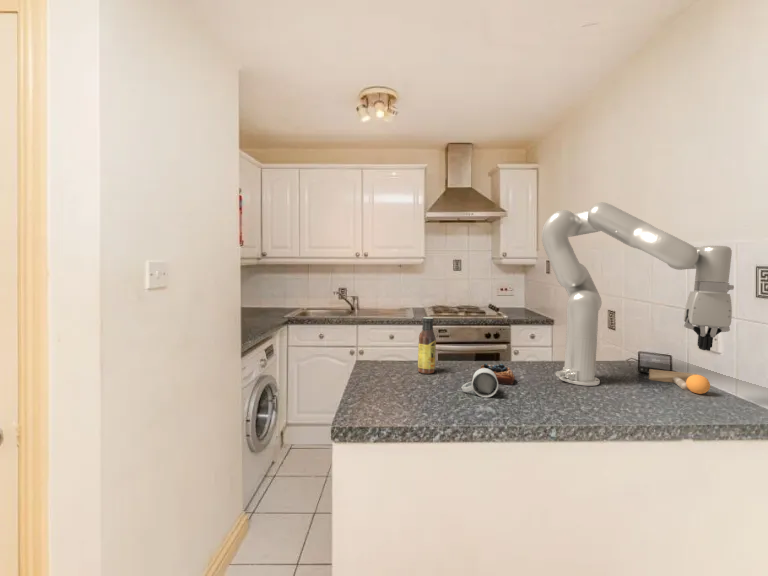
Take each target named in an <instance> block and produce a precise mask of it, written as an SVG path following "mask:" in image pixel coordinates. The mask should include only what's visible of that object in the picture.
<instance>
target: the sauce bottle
mask: <svg viewBox="0 0 768 576" xmlns="http://www.w3.org/2000/svg"><path fill="white" fill-rule="evenodd" d="M434 318H435V317H431V316H424V317H422V319H421V321H422V328H421V332H420V333H419V336H418V346H417V347H418V349H417V371H418V373H421V374H424V375H425V374H426V375H429V374H430V375H431V374H434V373H435V368H436V353H437V351H436V350H437V348H436V347H437V339H436V335H435V332H434V321H435V320H434Z"/></svg>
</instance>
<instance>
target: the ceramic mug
mask: <svg viewBox="0 0 768 576" xmlns="http://www.w3.org/2000/svg"><path fill="white" fill-rule="evenodd" d="M480 368H481V367H480ZM480 368H479V369H477V370H476V371H475V372H474V373H473V376H472V380H471V381H468V382H466V383H464V384H462V386H461V389H462V392H463V393H470V392H474V393H475V394H476V395H477V396H479V397H480V398H486V399H487V398H491V397H493V396H494V395H495V394H496V393H497V392H498V390H499V384H498V380H497V378H496V375H495V373H494V372H493V371H491V370H490V369H487V368H481V369H480Z"/></svg>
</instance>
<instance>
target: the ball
mask: <svg viewBox="0 0 768 576" xmlns="http://www.w3.org/2000/svg"><path fill="white" fill-rule="evenodd" d="M686 385H687V387H688V389H689V390H688V391H691V392H692V393H694V394H697V395H702V394H705V393H707V392H709V390H710V388H711V383H710V381H709V379H708V378H707V377H705V376H703V375H701V374H697V375H692V376H690V377H688V378H687V380H686Z"/></svg>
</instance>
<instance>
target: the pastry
mask: <svg viewBox="0 0 768 576" xmlns="http://www.w3.org/2000/svg"><path fill="white" fill-rule="evenodd" d="M481 368H487V369H490V370H491V371H493V372H494V373H495V375H496V378H497V380H498V385H502V386H503V385H504V386H506V385H507V386H512V385H513V384H514V383H515V379H516V376H515V373H513V370H511V368H510V367H507V366H505V364H503V363H499V364H494V365H491V364H488V363H484V364H482V365H480V368H479V369H481Z"/></svg>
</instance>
